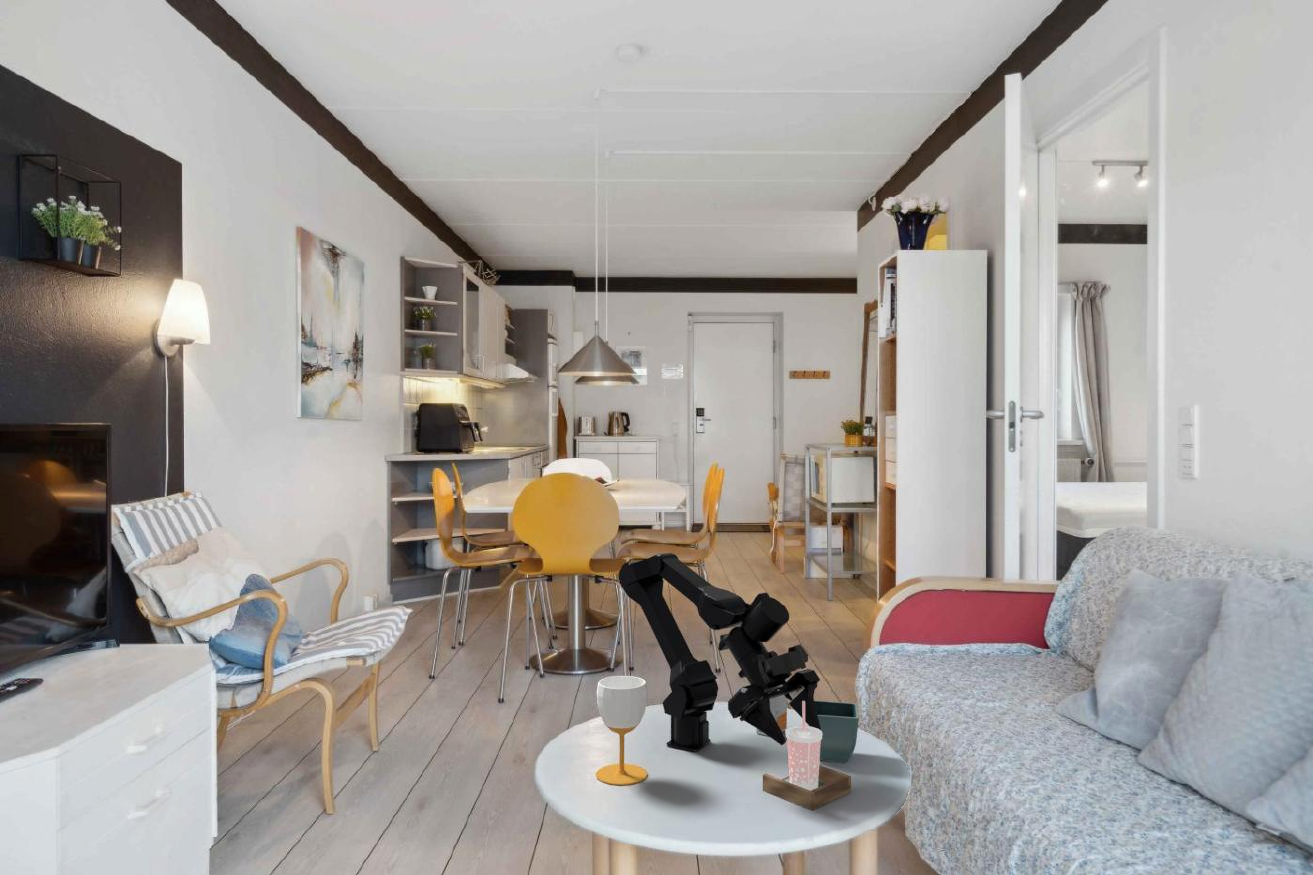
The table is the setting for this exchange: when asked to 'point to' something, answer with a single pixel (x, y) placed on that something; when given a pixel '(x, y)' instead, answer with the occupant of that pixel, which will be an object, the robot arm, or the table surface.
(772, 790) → the wooden tray
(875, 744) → the table surface
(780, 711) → the skincare box
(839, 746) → the flower pot
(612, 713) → the cup
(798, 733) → the beverage cup
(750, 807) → the table surface
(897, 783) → the table surface
